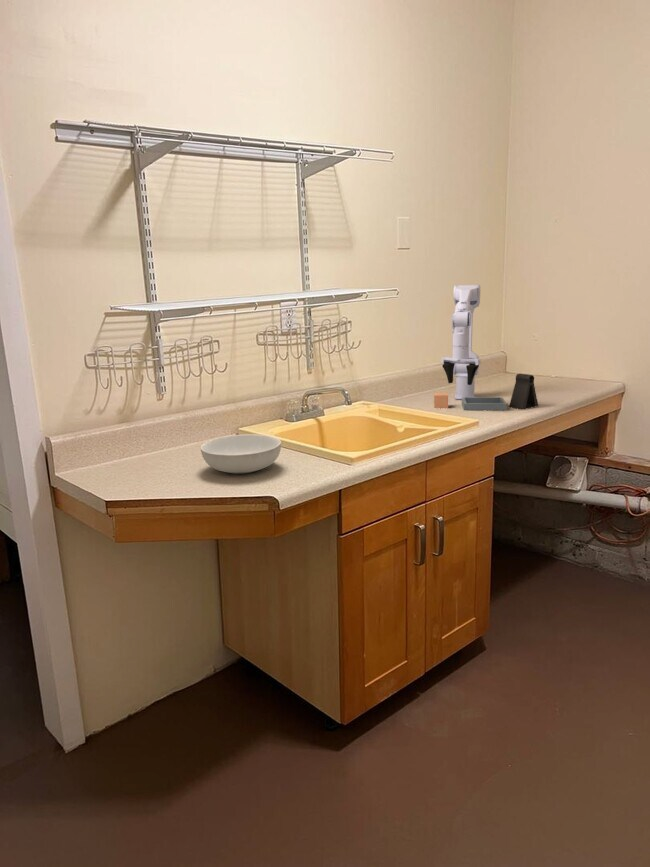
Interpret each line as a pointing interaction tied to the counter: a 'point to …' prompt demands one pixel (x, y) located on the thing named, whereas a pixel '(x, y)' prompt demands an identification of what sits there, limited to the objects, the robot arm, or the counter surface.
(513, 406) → the phone stand
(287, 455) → the counter surface
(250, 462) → the serving bowl
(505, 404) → the slate tray
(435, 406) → the orange block
